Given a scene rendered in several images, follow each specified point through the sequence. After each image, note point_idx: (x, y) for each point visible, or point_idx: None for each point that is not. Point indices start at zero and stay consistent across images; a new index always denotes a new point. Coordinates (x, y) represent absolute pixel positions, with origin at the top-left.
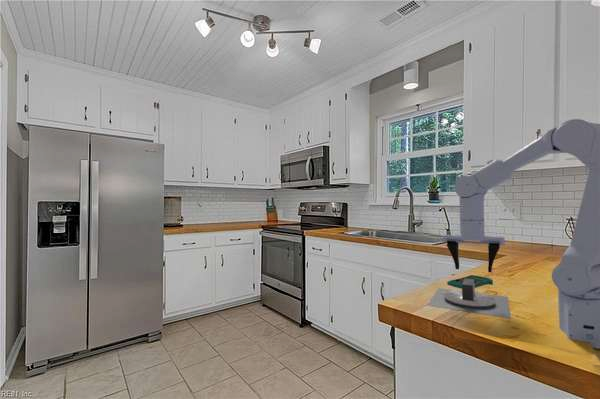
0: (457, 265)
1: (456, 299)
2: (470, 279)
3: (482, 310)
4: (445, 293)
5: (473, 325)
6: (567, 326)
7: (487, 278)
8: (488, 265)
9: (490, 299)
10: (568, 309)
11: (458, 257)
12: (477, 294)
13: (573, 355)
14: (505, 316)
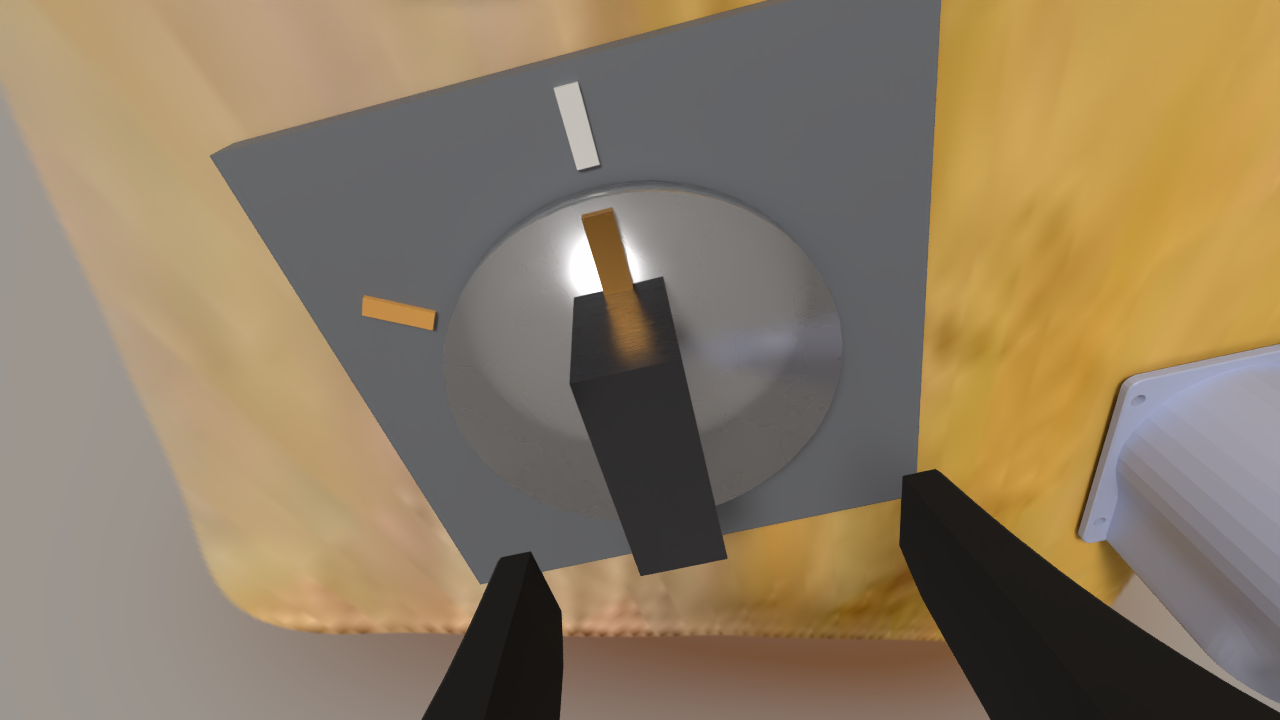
0: (555, 673)
1: (601, 499)
2: (645, 390)
3: (767, 480)
4: (467, 428)
5: (745, 581)
6: (1154, 585)
7: None
8: (948, 642)
9: (808, 353)
10: (1231, 672)
11: (494, 696)
12: (688, 282)
13: None
14: (890, 485)
